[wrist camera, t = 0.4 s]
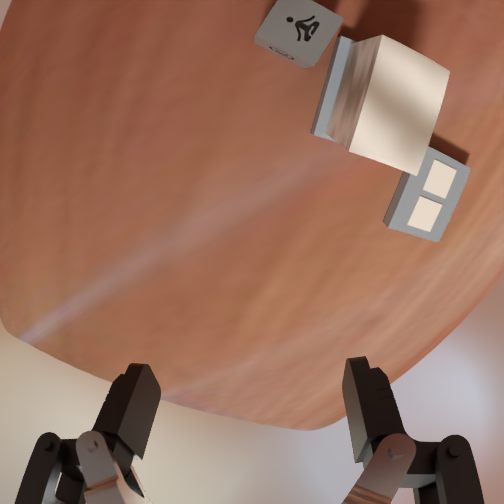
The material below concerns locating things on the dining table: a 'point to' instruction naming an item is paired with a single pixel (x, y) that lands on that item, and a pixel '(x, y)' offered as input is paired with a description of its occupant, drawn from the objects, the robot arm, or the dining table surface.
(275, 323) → the dining table surface
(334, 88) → the grey piece
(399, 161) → the cream block
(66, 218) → the dining table surface
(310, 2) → the dice cube
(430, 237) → the board
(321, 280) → the dining table surface
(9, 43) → the dining table surface
